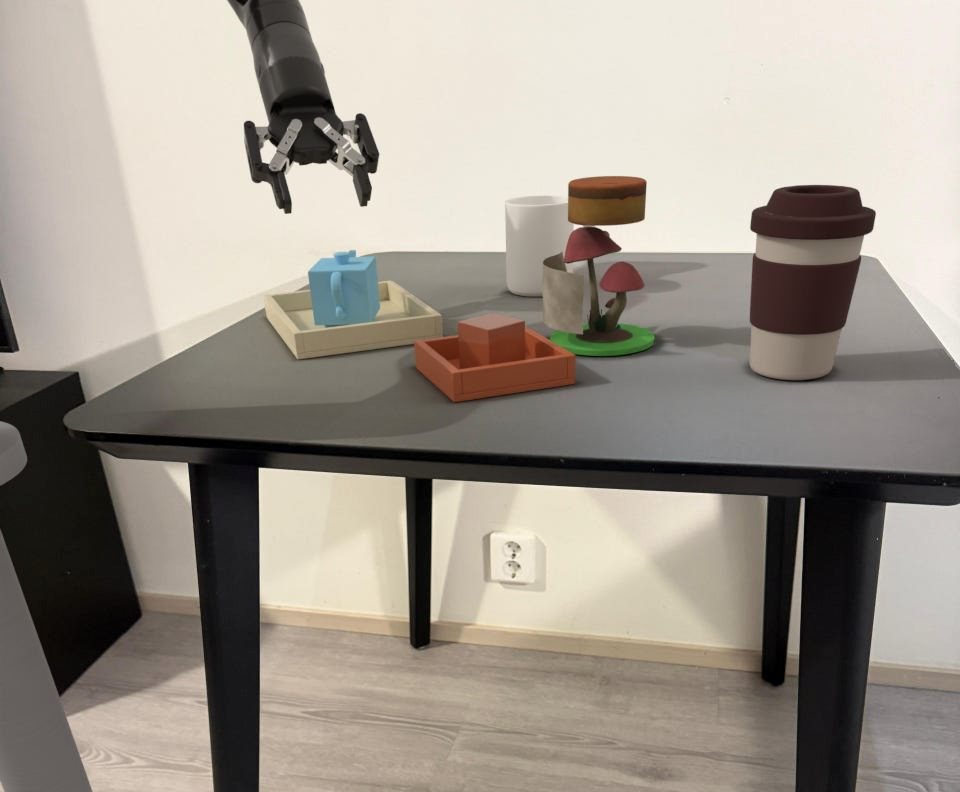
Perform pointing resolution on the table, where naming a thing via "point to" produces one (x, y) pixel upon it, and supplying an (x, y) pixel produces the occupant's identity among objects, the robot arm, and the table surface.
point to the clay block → (490, 340)
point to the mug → (535, 240)
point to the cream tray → (392, 326)
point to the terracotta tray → (494, 368)
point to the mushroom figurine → (565, 291)
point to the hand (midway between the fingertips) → (326, 205)
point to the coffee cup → (804, 277)
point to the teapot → (344, 290)
